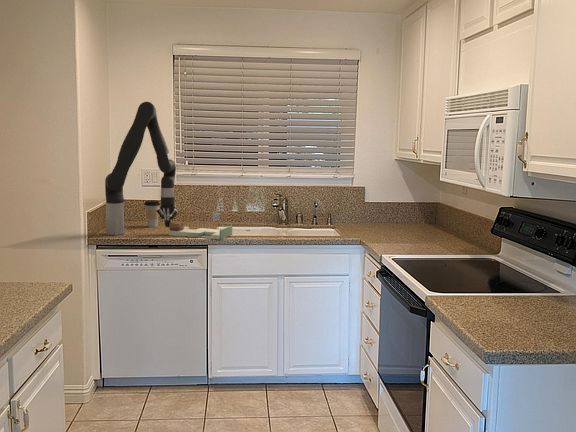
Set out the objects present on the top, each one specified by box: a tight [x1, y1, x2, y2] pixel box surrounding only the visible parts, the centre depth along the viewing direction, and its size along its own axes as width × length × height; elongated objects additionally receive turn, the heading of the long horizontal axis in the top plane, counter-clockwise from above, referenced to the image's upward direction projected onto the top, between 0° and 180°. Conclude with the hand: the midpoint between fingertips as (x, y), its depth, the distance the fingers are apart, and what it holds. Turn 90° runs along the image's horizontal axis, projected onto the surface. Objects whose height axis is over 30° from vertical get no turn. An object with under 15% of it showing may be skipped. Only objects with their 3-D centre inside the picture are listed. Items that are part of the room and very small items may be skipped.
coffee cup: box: [143, 200, 161, 228], centre depth 350 cm, size 9×9×15 cm
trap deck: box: [168, 225, 233, 240], centre depth 327 cm, size 16×31×5 cm, turn 74°
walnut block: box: [168, 221, 185, 231], centre depth 326 cm, size 6×6×4 cm
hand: (167, 226), depth 328 cm, fingers closed
